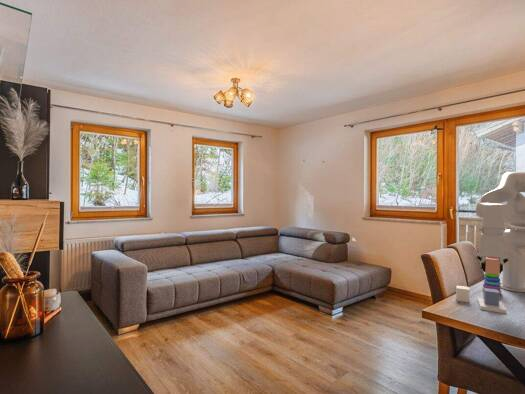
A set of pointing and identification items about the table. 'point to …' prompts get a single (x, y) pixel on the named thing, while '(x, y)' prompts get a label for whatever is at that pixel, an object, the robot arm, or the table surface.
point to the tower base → (490, 307)
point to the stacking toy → (492, 281)
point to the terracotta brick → (492, 266)
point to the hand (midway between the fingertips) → (491, 271)
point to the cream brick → (462, 293)
